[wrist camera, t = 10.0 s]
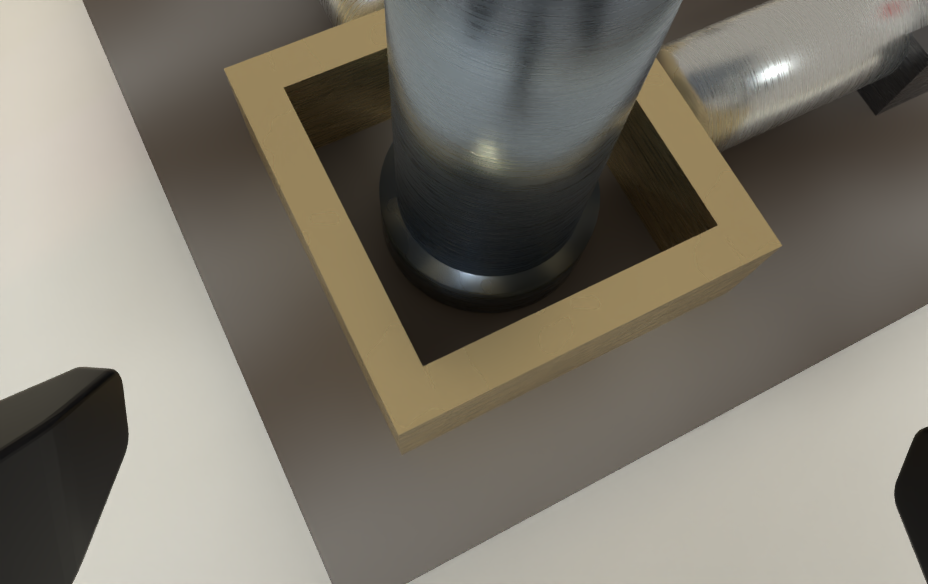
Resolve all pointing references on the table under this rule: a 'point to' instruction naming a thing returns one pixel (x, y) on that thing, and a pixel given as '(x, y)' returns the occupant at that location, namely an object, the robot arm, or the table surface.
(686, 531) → the table surface
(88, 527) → the robot arm
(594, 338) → the socket
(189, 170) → the shaft board
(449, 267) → the steel coupler
